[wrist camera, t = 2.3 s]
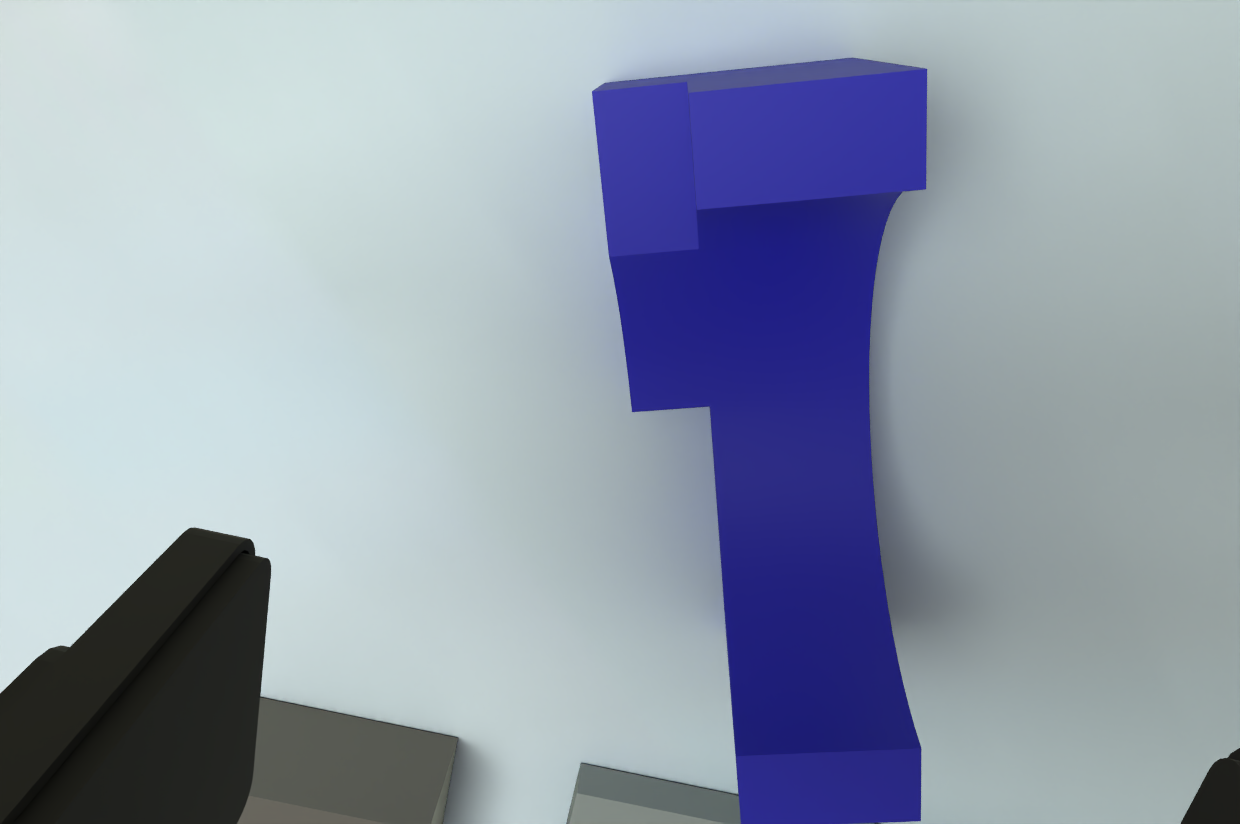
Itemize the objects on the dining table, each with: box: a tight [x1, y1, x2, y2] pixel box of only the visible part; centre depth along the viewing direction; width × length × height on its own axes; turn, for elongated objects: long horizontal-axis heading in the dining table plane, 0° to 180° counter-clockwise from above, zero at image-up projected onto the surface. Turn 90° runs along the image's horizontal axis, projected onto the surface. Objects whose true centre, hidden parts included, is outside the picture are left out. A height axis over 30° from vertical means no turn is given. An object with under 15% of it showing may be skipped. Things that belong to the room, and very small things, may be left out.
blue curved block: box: [592, 58, 927, 824], centre depth 18 cm, size 12×4×6 cm, turn 6°
